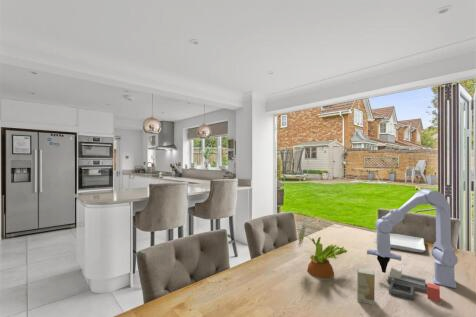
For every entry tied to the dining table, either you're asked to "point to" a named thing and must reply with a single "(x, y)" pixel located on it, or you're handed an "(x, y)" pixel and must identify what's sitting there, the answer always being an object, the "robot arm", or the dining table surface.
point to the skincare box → (365, 285)
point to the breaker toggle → (396, 272)
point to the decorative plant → (321, 257)
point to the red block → (433, 292)
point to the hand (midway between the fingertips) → (383, 271)
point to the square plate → (406, 243)
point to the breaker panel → (409, 281)
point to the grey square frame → (400, 293)
